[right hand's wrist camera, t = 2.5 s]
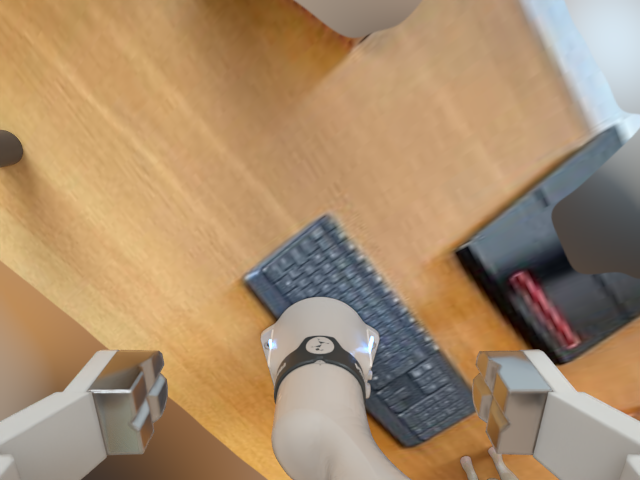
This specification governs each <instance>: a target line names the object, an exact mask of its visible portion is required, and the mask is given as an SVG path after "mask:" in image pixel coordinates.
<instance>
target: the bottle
mask: <svg viewBox="0 0 640 480" xmlns="http://www.w3.org/2000/svg"><path fill="white" fill-rule="evenodd" d="M22 154H23V149H22V145H21V143H20V141H19V140H18V139H17V137H16V136H14V135H13V134H12V133H10V132H8V131H5V130H0V168H1V167H4V166H8V165H12V164H15V163H17V162H18V161H19V160H20V159H21V157H22Z"/></svg>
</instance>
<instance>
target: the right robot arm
mask: <svg viewBox="0 0 640 480" xmlns="http://www.w3.org/2000/svg"><path fill="white" fill-rule="evenodd" d="M261 343H262V347H263V350H264V353H265V357H266V360H267V364H268V367H269V371H270V374H271V377H272V381H273V384H274V400H275V404H276V406H275V414H274V421H273V429H272V436H271V441H272V448H273V451H274V454H275V456H276V459H277V460H278V462H279V464H280V465H281V467H282V468H283V469H284V471H285V472H286V473H287V475H288V476H289V477H290V478H292V479H293V480H411V479H410V478H409V477H407V476H406V475H405V474H404V473H402V472H401V471H400V470H399V469H398V468H397V467H396V466H395V465H394V464H393V463H392V462H391V461H390V460H389V459H388V458H387V457H386V456H385V455H384V454H383V452H382V451H381V450H380V449H379V447H378V446H377V444H376V443H375V441H374V439H373V437H372V435H371V432H370V428H369V424H368V420H367V416H366V411H365V406H364V404H365V400H366V398H369V396H370V384H369V383H367V381H368V380H371V379H372V371H371V367H372V364H373V360H374V357H375V353H376V350H377V347H378V343H379V333H378V332H377V331H376V330H375V329H373V328H372V327H370V326H368V325H367V324H365V323H364V322H363V321H362V319H361V318H360V317H359V315H358V314H357V313H356V312H355V310H353V309H352V308H351V307H350V306H348V305H347V304H345V303H343V302H341V301H339V300H336V299H333V298H328V297H312V298H307V299H304V300H301V301H299V302H297V303H295V304H293V305H292V306H290V307H289V308H288V309H287V310H286V311H285V312H284V313H283V314H282V315H281V317H280V318H279V319H278V321H277V322H276V323H275V324H273V325H272V326H270V327H268V328H267V329H265V330H264V331H263V332H262V333H261ZM268 343H269V344H268ZM163 366H164V361H163V356H162V353H161V352H160V351H147V350H100V351H97V352H96V353H95V354H94V355H93V357H92V358H91V359H90V360H89V361H88V363H87V364H86V365H85V366H84V367H83V369H82V370H81V371H80V372H79V373H78V374H77V376H76V377H75V378H74V379H73V380H72V381H71V383H70V384H69V385H68V386H67V388H66V389H65V390H64V391H63V392H55V393H53V394H52V395H50V396H48V397H46V398H44V399H42V400H40V401H38V402H36V403H34V404H32V405H31V406H29V407H27V408H25V409H23V410H21V411H19V412H17V413H15V414H13V415H11V416H9V417H8V418H6V419H4V420H2V421H0V480H81V479H82V478H83V477H84V476H85V475H87V474H88V473H89V472H90V471H91V470H92V469H94V468H95V467H96V466H97V465H98V464H99V463H101V462H102V461H103V460H104V459H105V458H106V457H107V455H124V454H144V452H145V450H146V448H147V445H148V443H149V441H150V439H151V437H152V435H153V433H154V427H153V423H154V422H155V421H157V420H158V419H160V418H161V416H162V414H163V412H164V410H165V407H166V402H167V397H168V385H167V379H166V378H165V377H164V376H163V375H162V374H161V373H160V372H161V370H162V368H163ZM476 366H477V368H478V370H479V372H480V373H479V374H478V375H477V376H476V377H475V378H474V379H473V387H472V395H473V403H474V406H475V410H476V412H477V414H478V416H479V418H480V419H482V420H483V421H485V422H486V423H487V427H486V433H487V435H488V437H489V439H490V441H491V443H492V445H493V447H494V450H495V452H496V454H516V455H533V457H534V458H535V459H536V460H537V461H539V462H540V463H541V464H542V465H543V466H544V467H545V468H547V469H548V470H549V471H550V472H551V473H552V474H554V475H555V476H556V477H557V478H558V479H559V480H640V421H638V420H636V419H634V418H632V417H630V416H628V415H627V414H625V413H623V412H621V411H619V410H617V409H615V408H613V407H611V406H609V405H607V404H606V403H604V402H602V401H600V400H598V399H596V398H594V397H592V396H590V395H588V394H586V393H585V392H577V391H576V390H575V389H574V387H573V386H572V385H571V384H570V383H569V382H568V380H567V379H566V378H565V377H564V376H563V374H562V373H561V372H560V371H559V370H558V369H557V367H556V366H555V365H554V364H553V363H552V361H551V360H550V359H549V358H548V357H547V356H546V354H545V353H544V352H543V351H540V350H519V351H480V352H479V354H478V356H477V360H476Z"/></svg>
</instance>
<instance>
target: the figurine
mask: <svg viewBox="0 0 640 480" xmlns="http://www.w3.org/2000/svg"><path fill="white" fill-rule="evenodd" d="M488 453H489V454H490V456H491V457H492V459H493V461H494V464H495V467H496V469H497V471H498V473H499V475H500V478H501V480H519V479H518V478H517V477H516V476H515V474H514V473H513V472H511V471H510V470H509V469H508V468H507V467H506V466H505V464H504V462H503V459H502V454H496V452H495V450H494V447H491V448H490V449H489V450H488ZM460 463H461V465H462V467H463V469H464V470H465V472H466V473H467V477H468V480H479V479H478V477H477V475H476V473H475V470H474V468H473V465H472V461H471V458H470V457H468V456H464V457H462V458H461V460H460ZM487 480H498V479H495V478H489V479H487Z"/></svg>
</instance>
